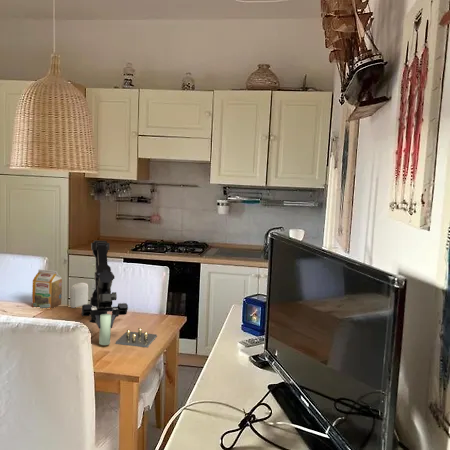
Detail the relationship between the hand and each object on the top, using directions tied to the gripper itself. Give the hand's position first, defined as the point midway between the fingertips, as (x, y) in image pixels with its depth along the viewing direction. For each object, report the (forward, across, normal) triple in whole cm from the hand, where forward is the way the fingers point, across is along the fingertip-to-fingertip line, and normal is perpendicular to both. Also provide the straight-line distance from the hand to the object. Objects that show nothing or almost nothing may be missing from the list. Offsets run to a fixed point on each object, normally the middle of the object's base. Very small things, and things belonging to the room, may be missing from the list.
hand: (105, 327), depth 197 cm
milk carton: (-39, -24, +52) cm, 69 cm away
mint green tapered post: (+4, 0, +6) cm, 7 cm away
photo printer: (-38, -8, +51) cm, 64 cm away
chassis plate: (+2, +14, +10) cm, 17 cm away
